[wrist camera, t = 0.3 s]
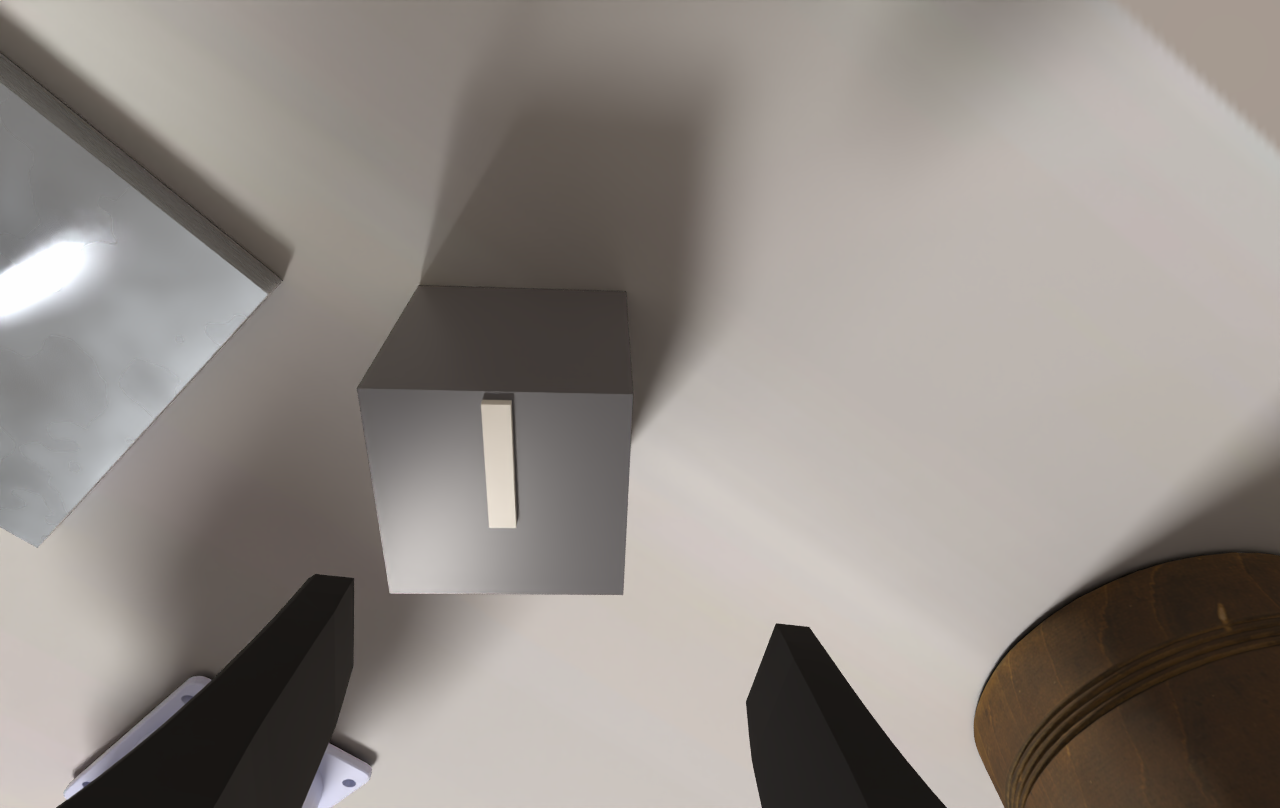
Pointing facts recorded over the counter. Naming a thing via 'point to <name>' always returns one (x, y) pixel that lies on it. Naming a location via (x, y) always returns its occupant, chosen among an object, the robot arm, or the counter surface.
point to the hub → (95, 303)
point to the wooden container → (1145, 694)
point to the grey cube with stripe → (502, 441)
